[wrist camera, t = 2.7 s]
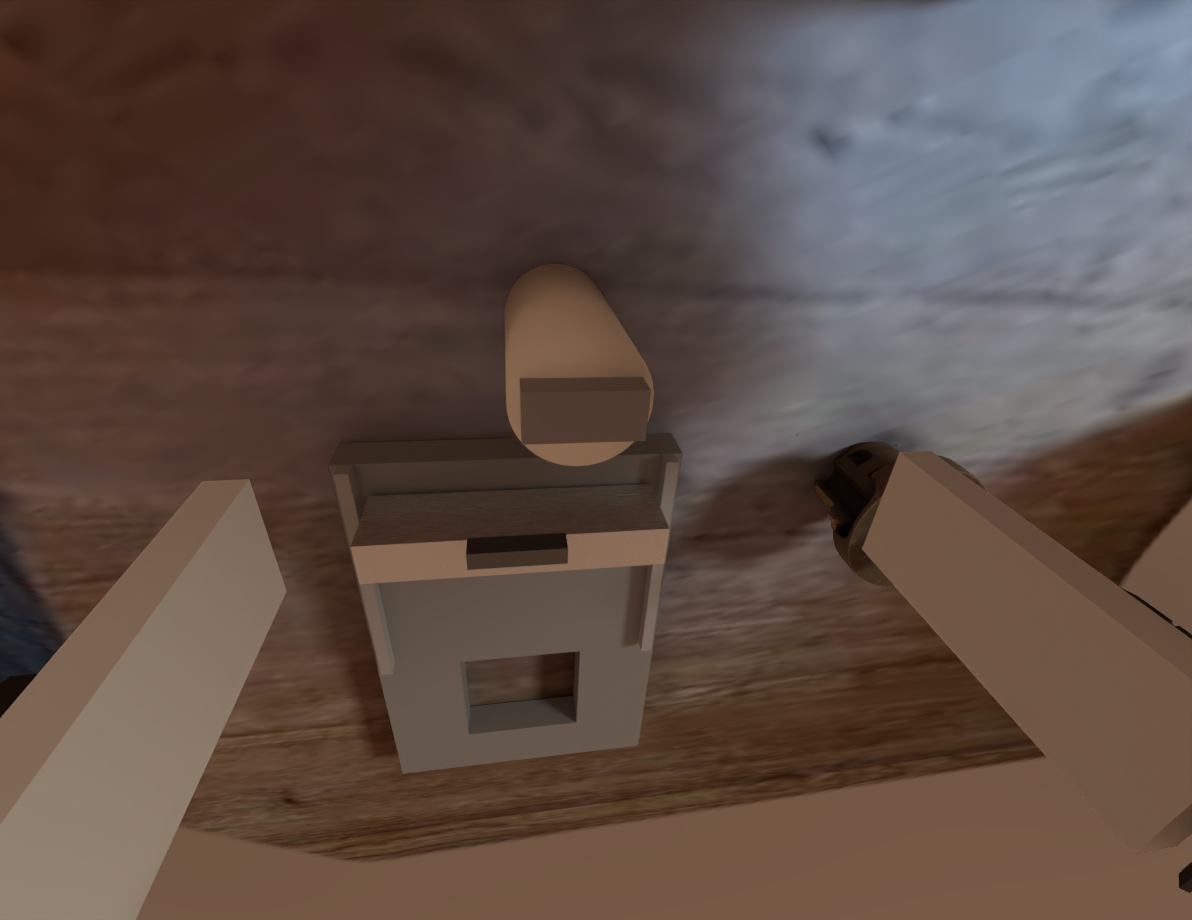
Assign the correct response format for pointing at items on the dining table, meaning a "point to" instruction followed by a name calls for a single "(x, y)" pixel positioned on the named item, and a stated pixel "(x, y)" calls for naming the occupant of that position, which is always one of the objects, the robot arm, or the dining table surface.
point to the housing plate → (506, 609)
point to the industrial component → (862, 502)
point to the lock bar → (508, 532)
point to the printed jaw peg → (572, 370)
